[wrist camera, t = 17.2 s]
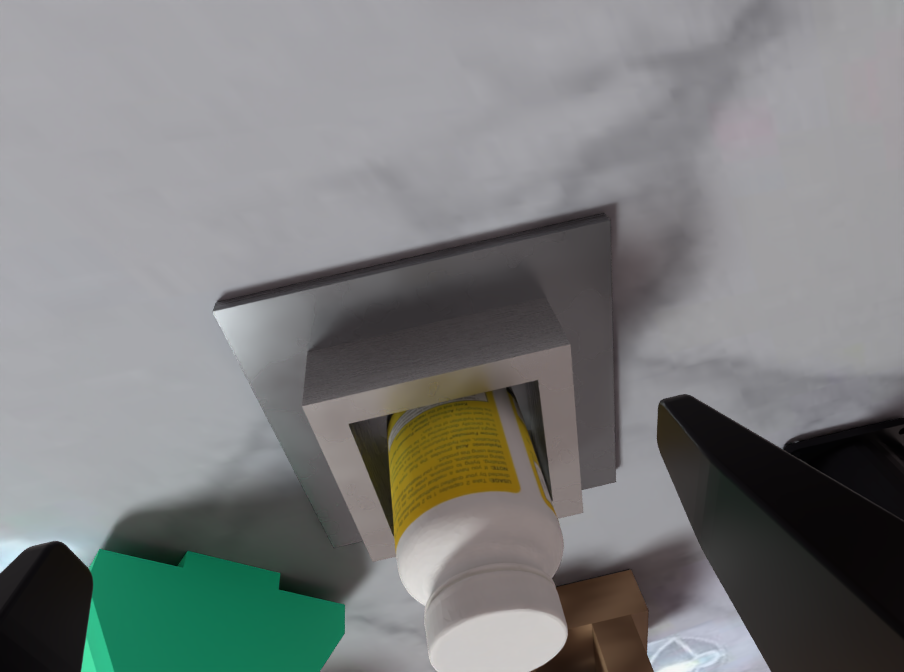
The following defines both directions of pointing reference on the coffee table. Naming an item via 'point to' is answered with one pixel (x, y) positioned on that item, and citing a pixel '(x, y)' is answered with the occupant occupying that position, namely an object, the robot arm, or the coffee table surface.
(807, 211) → the coffee table surface
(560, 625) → the supplement bottle
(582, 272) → the socket
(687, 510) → the robot arm
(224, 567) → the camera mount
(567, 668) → the mount
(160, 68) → the coffee table surface
